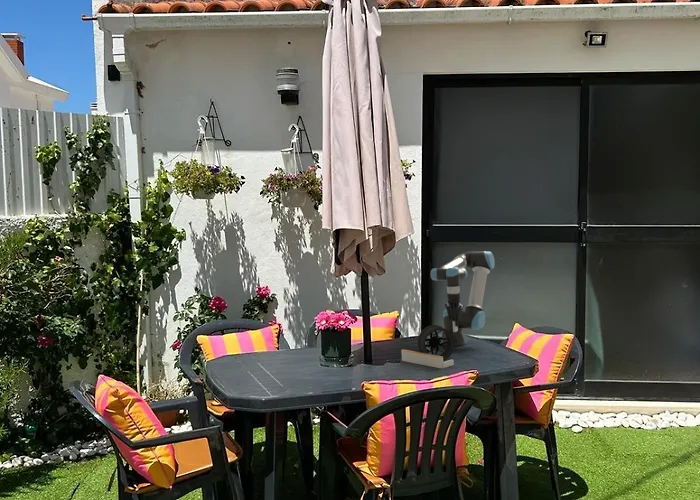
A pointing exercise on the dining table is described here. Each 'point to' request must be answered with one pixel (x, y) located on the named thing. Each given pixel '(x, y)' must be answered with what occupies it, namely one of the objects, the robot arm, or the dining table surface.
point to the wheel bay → (425, 359)
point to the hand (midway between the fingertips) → (455, 331)
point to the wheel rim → (436, 341)
